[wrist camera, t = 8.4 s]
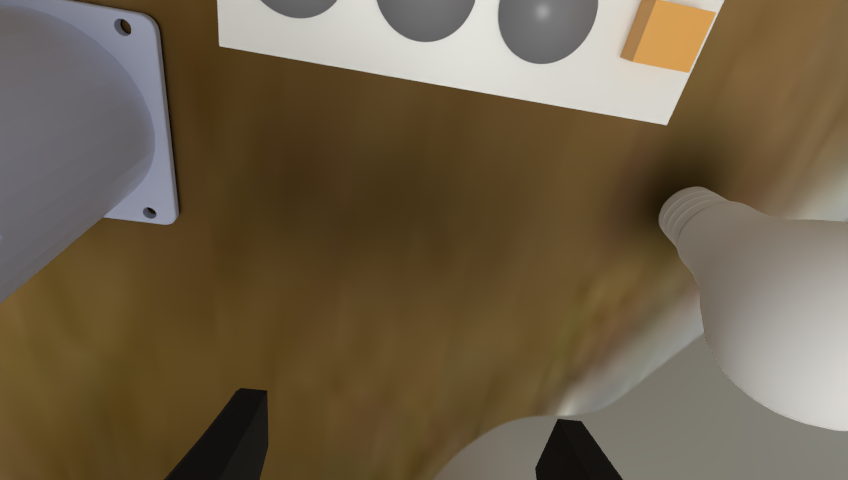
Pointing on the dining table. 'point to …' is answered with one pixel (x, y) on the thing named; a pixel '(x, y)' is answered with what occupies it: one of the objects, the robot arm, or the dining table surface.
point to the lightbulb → (769, 301)
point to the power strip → (495, 45)
